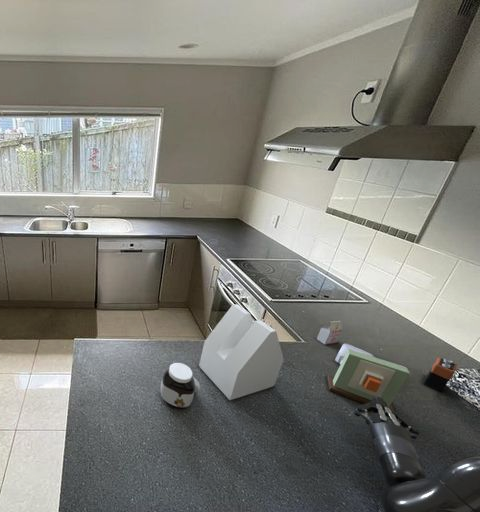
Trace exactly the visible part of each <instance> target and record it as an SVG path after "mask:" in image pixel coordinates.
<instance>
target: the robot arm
mask: <svg viewBox="0 0 480 512" xmlns="http://www.w3.org/2000/svg"><path fill="white" fill-rule="evenodd" d="M371 402H372V403H371ZM371 402H368V403H366V404H364V403H362V404H361V405H359V406H357V407H356V409H355V411H354V413H353V414H354V415H355V417H361V418H363V420H364V421H365V423H366V424H367V426H368V429H369V434H370V437H371V441H372V444H373V445H372V446H373V449H374V452H375V454H376V458H377V459H378V462H379V464H380V468H381V471H382V475H383V477H384V480H385V482H386V483H387V485H388V486H389V487H388V488H387V489H385V490H384V492H383V494H382V495H381V496H382V498H381V506H382V509H383V511H384V512H480V455H472V456H466V457H462V458H459V459H457V460H455V461H453V462H451V463H450V464H448V465H447V466H445V467H444V468H442V469H440V470H439V471H437V472H436V473H434V474H433V475H431V476H428V477H427V475H426V473H425V471H424V467H423V464H422V460H421V457H420V455H419V453H418V450H417V448H416V445H415V443H414V441H413V440H416V439H417V438H418V436H419V435H420V434H421V430H419V429H418V427H416V426H414V424H412V423H411V422H410V421H409V420H408V419H406V418H405V417H404V416H402V415H401V414H400V413H399V412H397V411H395V412H392V411H391V410H390V409H389V408H388V406H387V403H386V402H385V401H384V400H383V398H380V397H377V396H375V397H373V399H372V401H371ZM371 412H372V414H369V413H371ZM368 414H369V415H368Z"/></svg>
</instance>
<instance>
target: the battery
mask: <svg viewBox="0 0 480 512" xmlns="http://www.w3.org/2000/svg"><path fill="white" fill-rule="evenodd" d="M457 366H458V365H457V364H456V363H454V361H452V360H451V359H450V358H442V357H437V358H436V360H435V361H434V363H433V364H432V366H431V368H430V369H429V371H428V373H427V374H426V376H425V378H424V380H423V384H424V385H426V386H428V387H429V388H431V389H434V390H436V391H438V392H442V391H443V390H444V389H445V387H446V386H447V384H448V383H449V381H450V380H451V379H452V377H453V376H454V374H455V372H456V369H457Z"/></svg>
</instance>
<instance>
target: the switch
mask: <svg viewBox="0 0 480 512" xmlns="http://www.w3.org/2000/svg"><path fill="white" fill-rule="evenodd" d="M380 385H381V383H380V380H378V379H375V378H372V377H369V376H368V378H367V380H366V382H365V384H364V387H365V389H368V390H371V391H373V392H377V390H378V388H379V386H380Z"/></svg>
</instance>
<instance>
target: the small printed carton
mask: <svg viewBox="0 0 480 512" xmlns="http://www.w3.org/2000/svg"><path fill="white" fill-rule="evenodd" d="M342 334H343V320H335V321H334V320H333V321H328V322H327V323H326V324H324V325H323V326H321V328H320V330H319V332H318V335H317V337H316V340H317V341H319V342H320V343H322V344H323V345H325V346H326V345H333V344H337V343H338V342H339V340H340V338H341V336H342Z"/></svg>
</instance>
